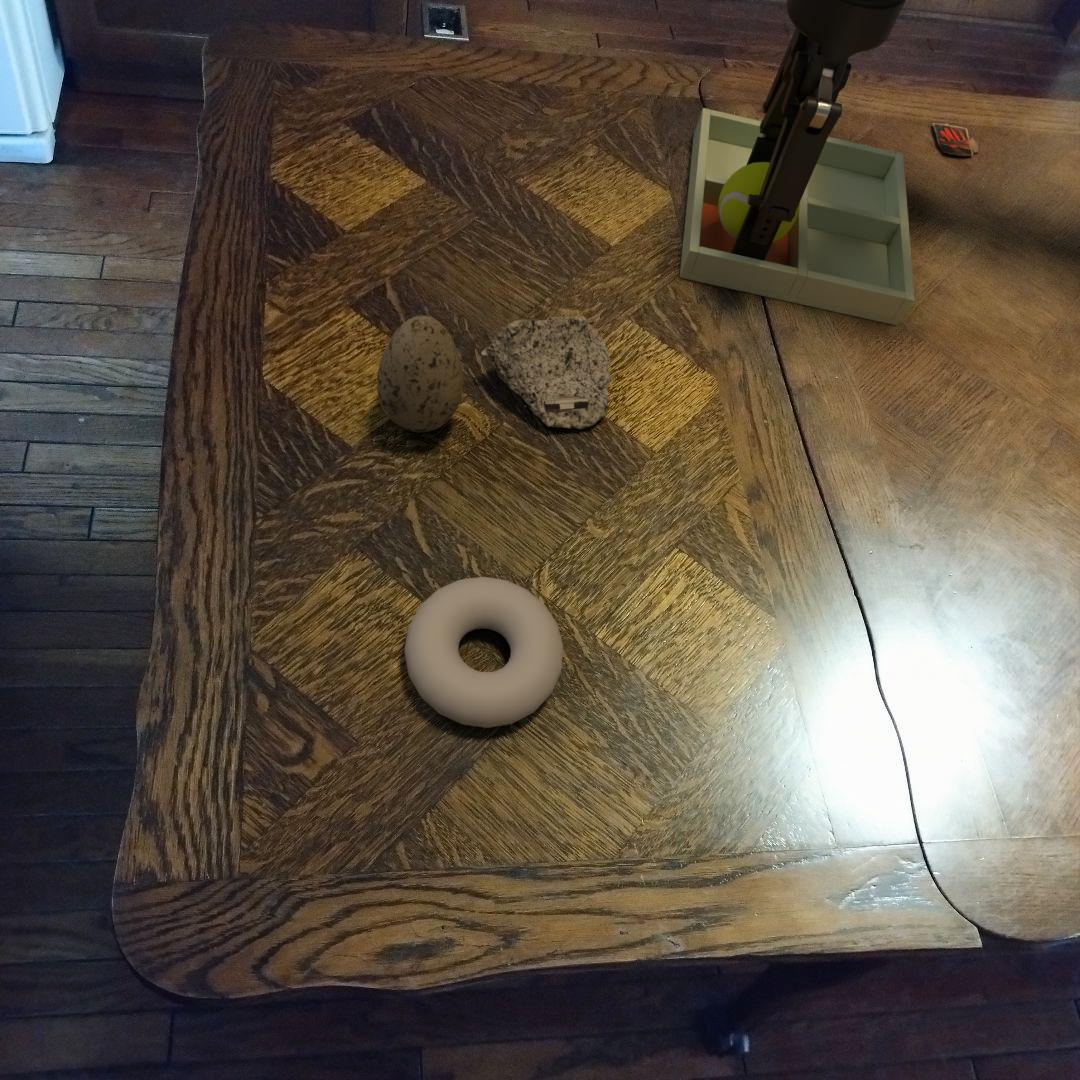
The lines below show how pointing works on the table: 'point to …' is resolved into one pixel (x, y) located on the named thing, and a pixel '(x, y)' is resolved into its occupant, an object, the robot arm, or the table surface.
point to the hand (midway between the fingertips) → (746, 232)
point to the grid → (807, 227)
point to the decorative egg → (420, 376)
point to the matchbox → (955, 140)
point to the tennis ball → (745, 199)
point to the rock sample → (555, 368)
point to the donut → (473, 691)
